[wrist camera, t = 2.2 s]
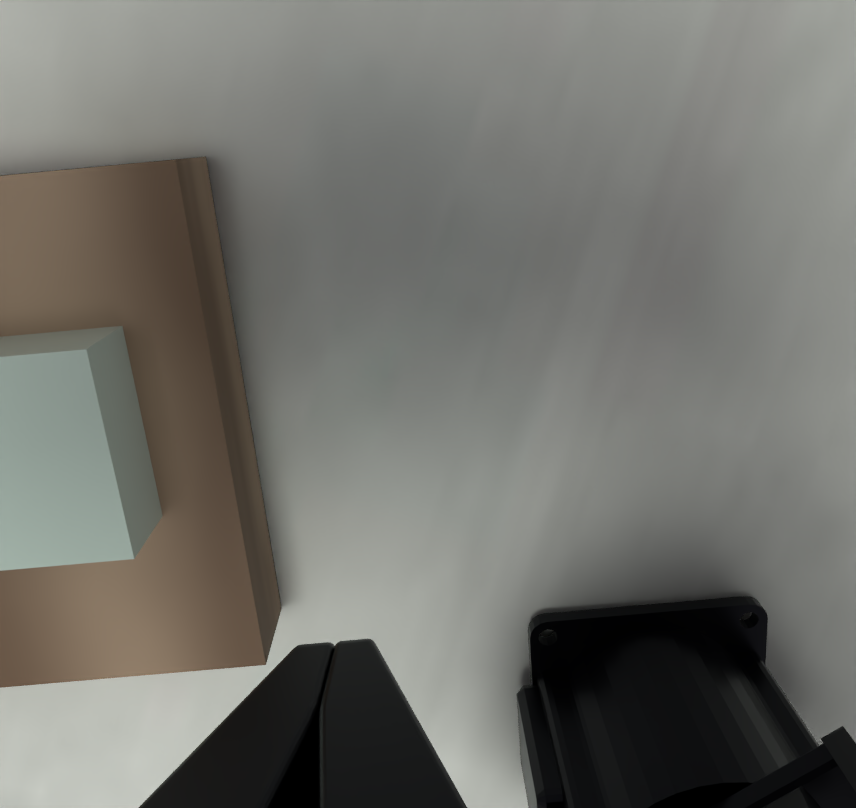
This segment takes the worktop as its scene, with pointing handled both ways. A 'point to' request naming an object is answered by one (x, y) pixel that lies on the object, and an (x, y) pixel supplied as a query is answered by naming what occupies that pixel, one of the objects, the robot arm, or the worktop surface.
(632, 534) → the worktop surface
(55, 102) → the worktop surface
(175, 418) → the walnut ledge
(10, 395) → the tile
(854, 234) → the worktop surface
